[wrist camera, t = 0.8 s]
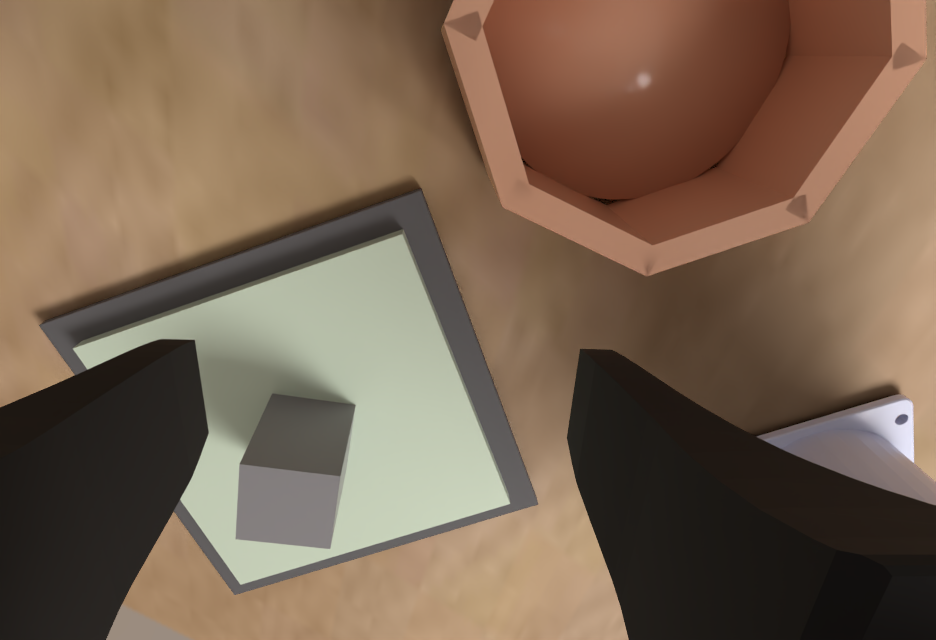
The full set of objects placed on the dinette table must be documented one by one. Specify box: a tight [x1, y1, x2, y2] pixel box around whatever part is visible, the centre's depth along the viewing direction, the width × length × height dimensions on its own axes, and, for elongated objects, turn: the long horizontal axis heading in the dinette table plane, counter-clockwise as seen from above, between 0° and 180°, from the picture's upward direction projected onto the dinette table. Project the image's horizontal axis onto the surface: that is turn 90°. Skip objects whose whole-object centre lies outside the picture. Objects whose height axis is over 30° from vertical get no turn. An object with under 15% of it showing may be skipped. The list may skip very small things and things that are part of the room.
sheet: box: [73, 229, 510, 585], centre depth 21 cm, size 12×12×5 cm
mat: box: [39, 188, 538, 595], centre depth 23 cm, size 14×14×1 cm
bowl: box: [441, 0, 927, 276], centre depth 16 cm, size 11×11×5 cm
